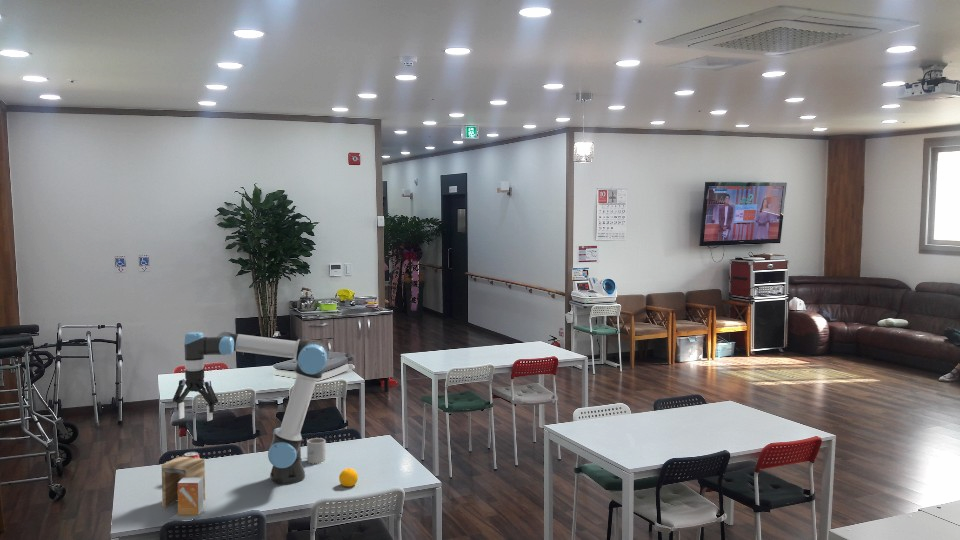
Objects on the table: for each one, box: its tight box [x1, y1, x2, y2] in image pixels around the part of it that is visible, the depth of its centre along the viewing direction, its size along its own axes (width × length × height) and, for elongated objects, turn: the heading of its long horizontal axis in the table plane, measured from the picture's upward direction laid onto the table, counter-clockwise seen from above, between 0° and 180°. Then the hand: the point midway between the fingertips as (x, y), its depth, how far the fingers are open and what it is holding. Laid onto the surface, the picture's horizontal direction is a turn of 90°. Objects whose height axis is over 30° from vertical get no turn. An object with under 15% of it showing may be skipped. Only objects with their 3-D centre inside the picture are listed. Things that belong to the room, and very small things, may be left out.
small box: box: [177, 477, 205, 515], centre depth 292 cm, size 8×6×13 cm
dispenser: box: [161, 456, 206, 508], centre depth 303 cm, size 12×11×17 cm
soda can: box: [183, 451, 201, 459], centre depth 331 cm, size 7×7×12 cm
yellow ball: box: [338, 467, 359, 488], centre depth 325 cm, size 8×8×8 cm
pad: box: [169, 510, 206, 521], centre depth 290 cm, size 9×9×1 cm
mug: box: [306, 437, 327, 464], centre depth 359 cm, size 12×9×10 cm
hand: (195, 419), depth 313 cm, fingers open, 13 cm apart
